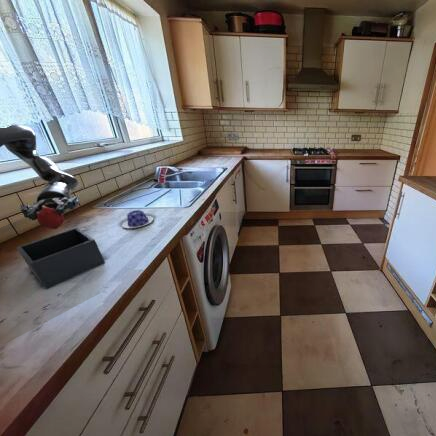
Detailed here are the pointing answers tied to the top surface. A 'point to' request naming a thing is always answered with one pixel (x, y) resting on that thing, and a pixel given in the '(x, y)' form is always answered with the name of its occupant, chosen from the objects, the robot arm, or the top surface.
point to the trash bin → (61, 256)
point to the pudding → (137, 219)
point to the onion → (50, 218)
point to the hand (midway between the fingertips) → (45, 214)
